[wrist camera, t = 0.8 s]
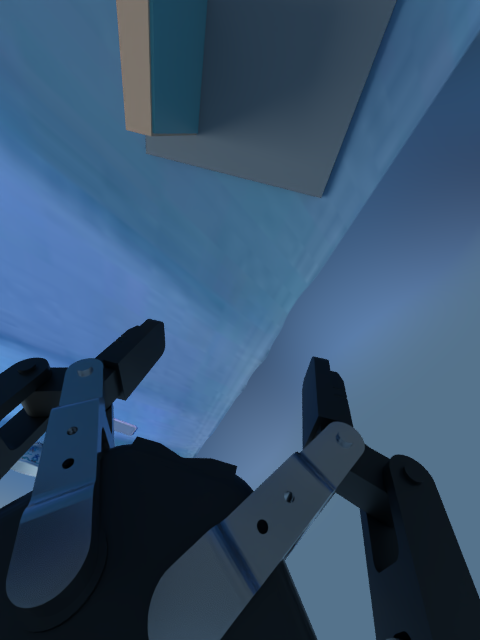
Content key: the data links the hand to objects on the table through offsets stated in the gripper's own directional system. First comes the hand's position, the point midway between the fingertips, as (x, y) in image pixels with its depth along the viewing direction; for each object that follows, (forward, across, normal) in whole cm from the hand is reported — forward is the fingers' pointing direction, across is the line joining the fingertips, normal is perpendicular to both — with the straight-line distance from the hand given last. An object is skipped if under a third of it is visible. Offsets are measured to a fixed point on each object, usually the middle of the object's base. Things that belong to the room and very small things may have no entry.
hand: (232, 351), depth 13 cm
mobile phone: (+29, +40, +63) cm, 80 cm away
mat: (+23, +6, -16) cm, 29 cm away
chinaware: (+28, +76, +92) cm, 123 cm away
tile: (+22, +11, -16) cm, 29 cm away
